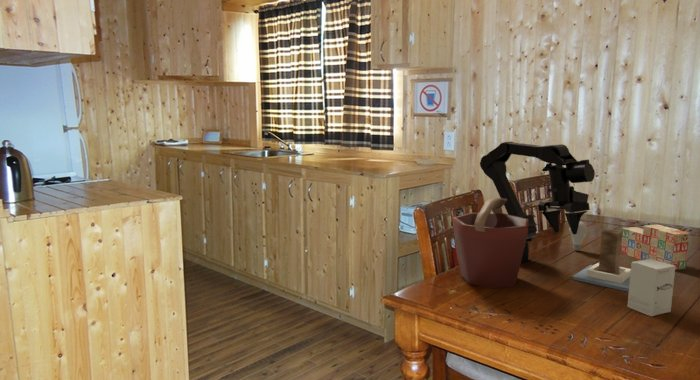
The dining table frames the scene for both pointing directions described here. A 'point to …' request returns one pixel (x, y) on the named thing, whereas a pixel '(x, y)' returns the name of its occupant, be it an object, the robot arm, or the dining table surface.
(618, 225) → the dining table surface
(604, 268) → the walnut pillar
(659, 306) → the supplement box
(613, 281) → the socket
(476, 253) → the bucket
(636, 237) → the stack of blocks
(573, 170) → the robot arm
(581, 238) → the lightbulb
